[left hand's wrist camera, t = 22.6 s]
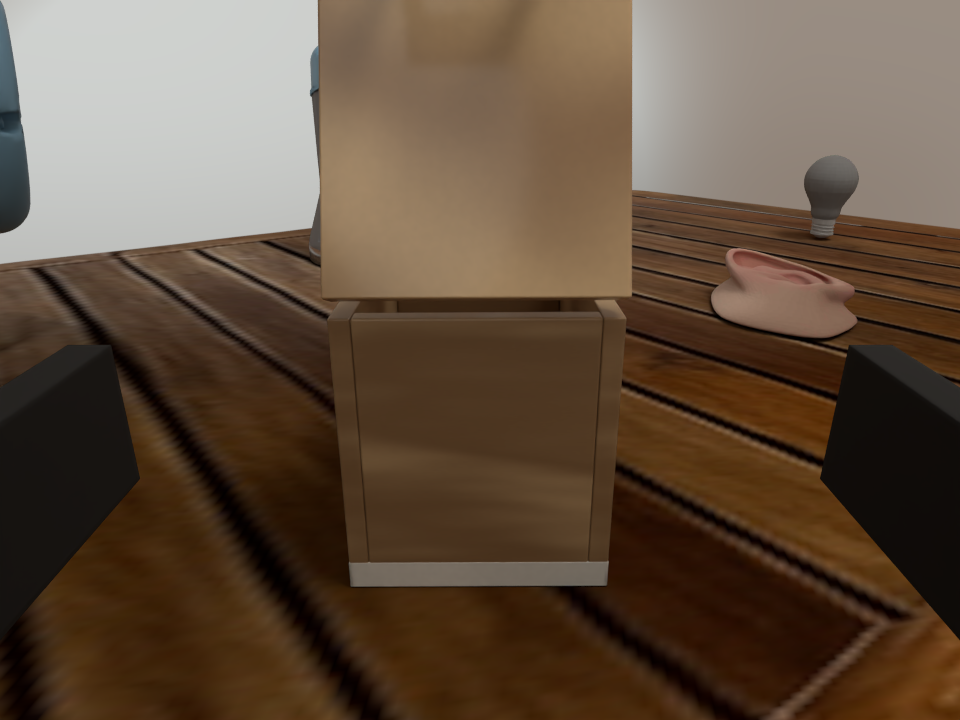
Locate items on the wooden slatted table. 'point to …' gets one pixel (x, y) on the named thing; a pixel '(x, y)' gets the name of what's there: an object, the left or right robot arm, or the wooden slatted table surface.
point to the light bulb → (829, 191)
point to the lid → (475, 150)
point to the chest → (477, 439)
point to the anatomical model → (782, 297)
